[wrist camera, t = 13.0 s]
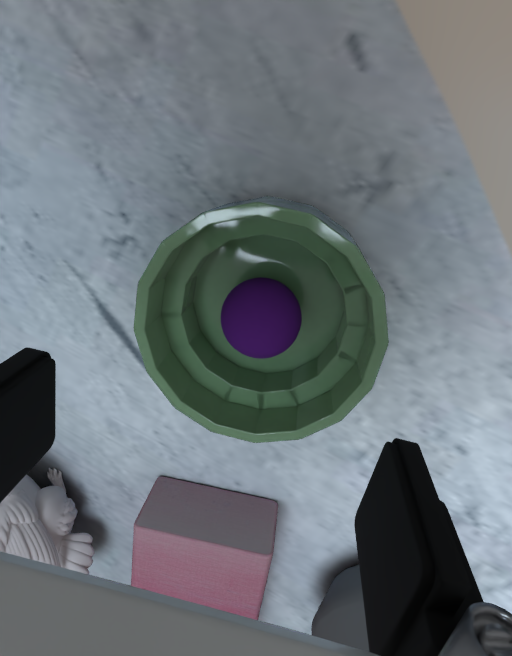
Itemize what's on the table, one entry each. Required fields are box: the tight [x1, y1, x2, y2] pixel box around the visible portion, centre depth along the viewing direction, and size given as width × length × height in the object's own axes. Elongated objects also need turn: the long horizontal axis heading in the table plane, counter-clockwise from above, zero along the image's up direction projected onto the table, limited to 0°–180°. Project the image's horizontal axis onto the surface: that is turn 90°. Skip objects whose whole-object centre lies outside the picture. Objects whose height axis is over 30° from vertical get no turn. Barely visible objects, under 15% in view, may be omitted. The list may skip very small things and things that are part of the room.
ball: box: [221, 277, 302, 359], centre depth 22 cm, size 4×4×4 cm
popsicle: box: [131, 476, 278, 620], centre depth 32 cm, size 9×5×20 cm
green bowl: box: [134, 196, 389, 443], centre depth 22 cm, size 12×12×6 cm
